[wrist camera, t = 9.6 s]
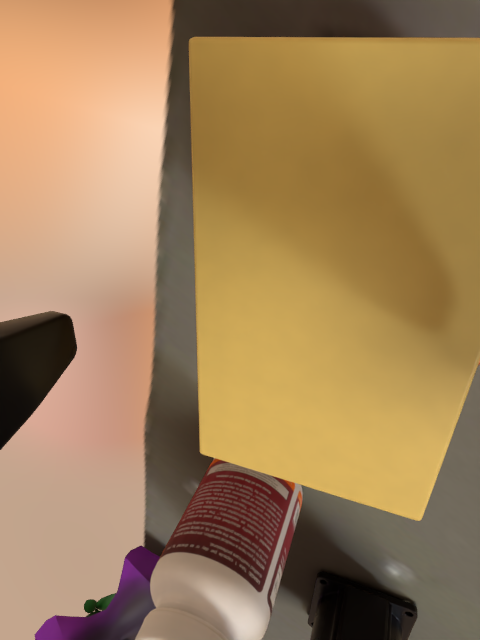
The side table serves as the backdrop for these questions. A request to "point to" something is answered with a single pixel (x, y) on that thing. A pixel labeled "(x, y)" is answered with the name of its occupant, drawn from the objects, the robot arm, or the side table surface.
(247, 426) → the packet
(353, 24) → the side table surface
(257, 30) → the side table surface
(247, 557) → the pill bottle
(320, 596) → the robot arm
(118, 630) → the flower
